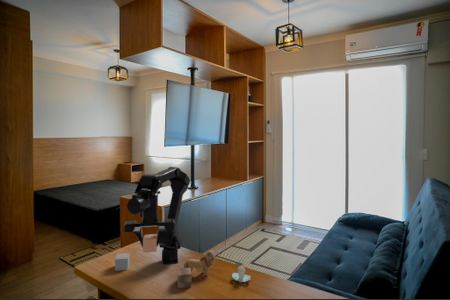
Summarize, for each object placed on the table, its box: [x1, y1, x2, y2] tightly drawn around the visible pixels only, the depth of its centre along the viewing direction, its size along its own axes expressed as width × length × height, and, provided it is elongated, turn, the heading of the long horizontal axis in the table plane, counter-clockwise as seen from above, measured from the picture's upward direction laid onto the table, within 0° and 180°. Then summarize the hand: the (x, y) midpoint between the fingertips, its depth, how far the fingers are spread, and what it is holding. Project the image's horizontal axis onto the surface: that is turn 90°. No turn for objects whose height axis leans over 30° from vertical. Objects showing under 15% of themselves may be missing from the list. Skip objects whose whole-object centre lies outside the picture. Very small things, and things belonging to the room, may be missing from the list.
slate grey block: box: [114, 252, 130, 272], centre depth 115 cm, size 5×5×5 cm
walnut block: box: [176, 267, 193, 289], centre depth 104 cm, size 5×5×5 cm
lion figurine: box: [183, 250, 216, 279], centre depth 110 cm, size 15×5×9 cm, turn 113°
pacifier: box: [231, 265, 251, 283], centre depth 107 cm, size 7×6×6 cm
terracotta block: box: [142, 233, 158, 253], centre depth 106 cm, size 5×5×5 cm
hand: (150, 246), depth 106 cm, fingers closed on terracotta block, 5 cm apart
